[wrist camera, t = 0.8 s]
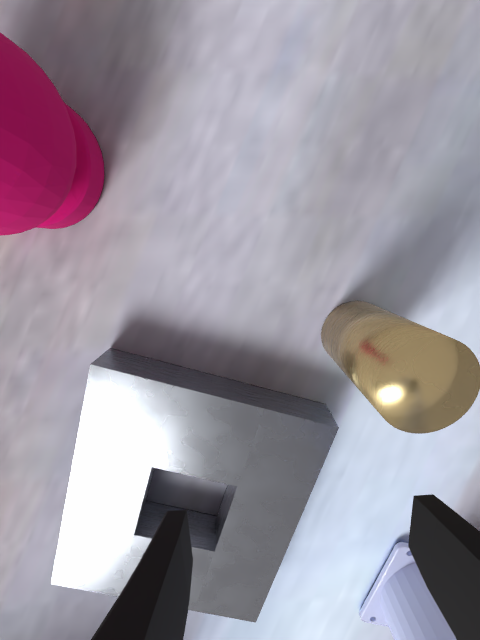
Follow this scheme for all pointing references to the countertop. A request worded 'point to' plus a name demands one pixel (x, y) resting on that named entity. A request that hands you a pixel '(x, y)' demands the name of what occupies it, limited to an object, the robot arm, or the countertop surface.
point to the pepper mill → (42, 150)
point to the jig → (194, 460)
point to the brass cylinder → (402, 366)
